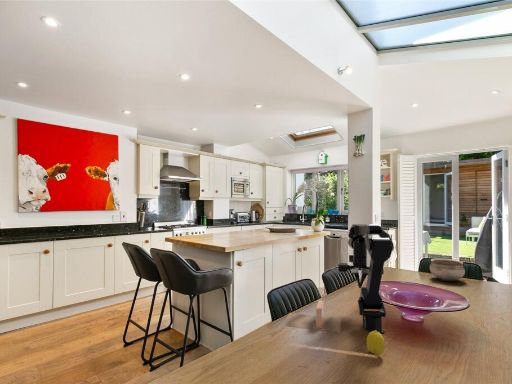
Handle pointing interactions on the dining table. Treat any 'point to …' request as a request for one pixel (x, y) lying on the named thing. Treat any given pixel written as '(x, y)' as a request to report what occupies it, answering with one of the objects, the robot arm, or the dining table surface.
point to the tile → (319, 314)
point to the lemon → (375, 343)
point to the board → (312, 322)
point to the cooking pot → (447, 269)
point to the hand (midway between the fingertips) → (359, 287)
